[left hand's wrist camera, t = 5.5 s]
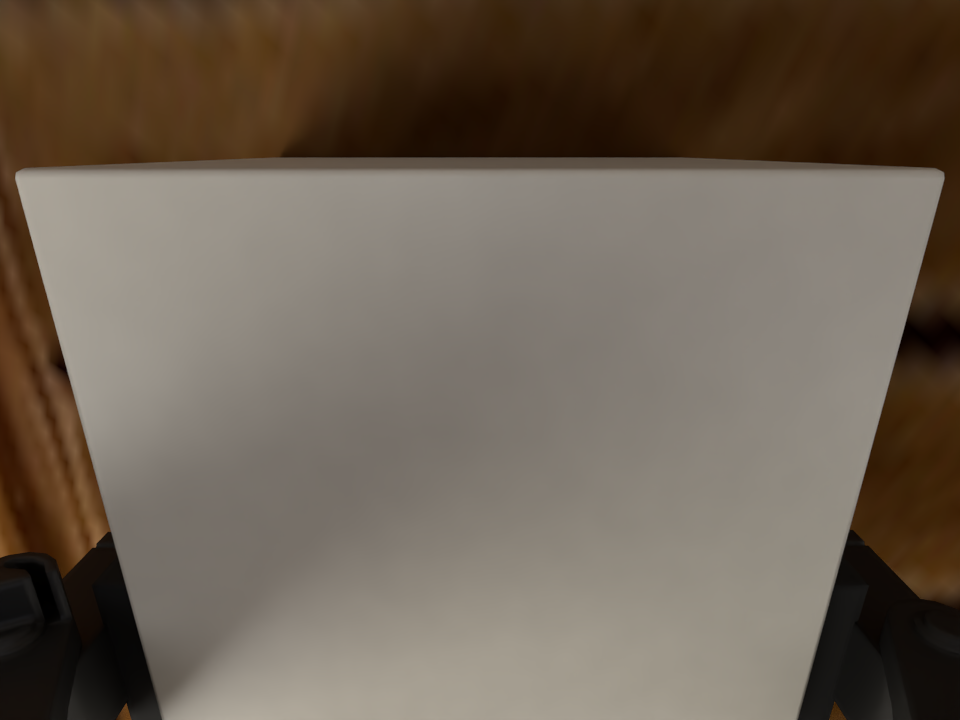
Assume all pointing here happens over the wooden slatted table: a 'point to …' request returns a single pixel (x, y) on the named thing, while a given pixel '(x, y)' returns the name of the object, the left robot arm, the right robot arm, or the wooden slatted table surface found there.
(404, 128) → the wooden slatted table surface
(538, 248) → the long square beam
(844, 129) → the wooden slatted table surface
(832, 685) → the left robot arm
